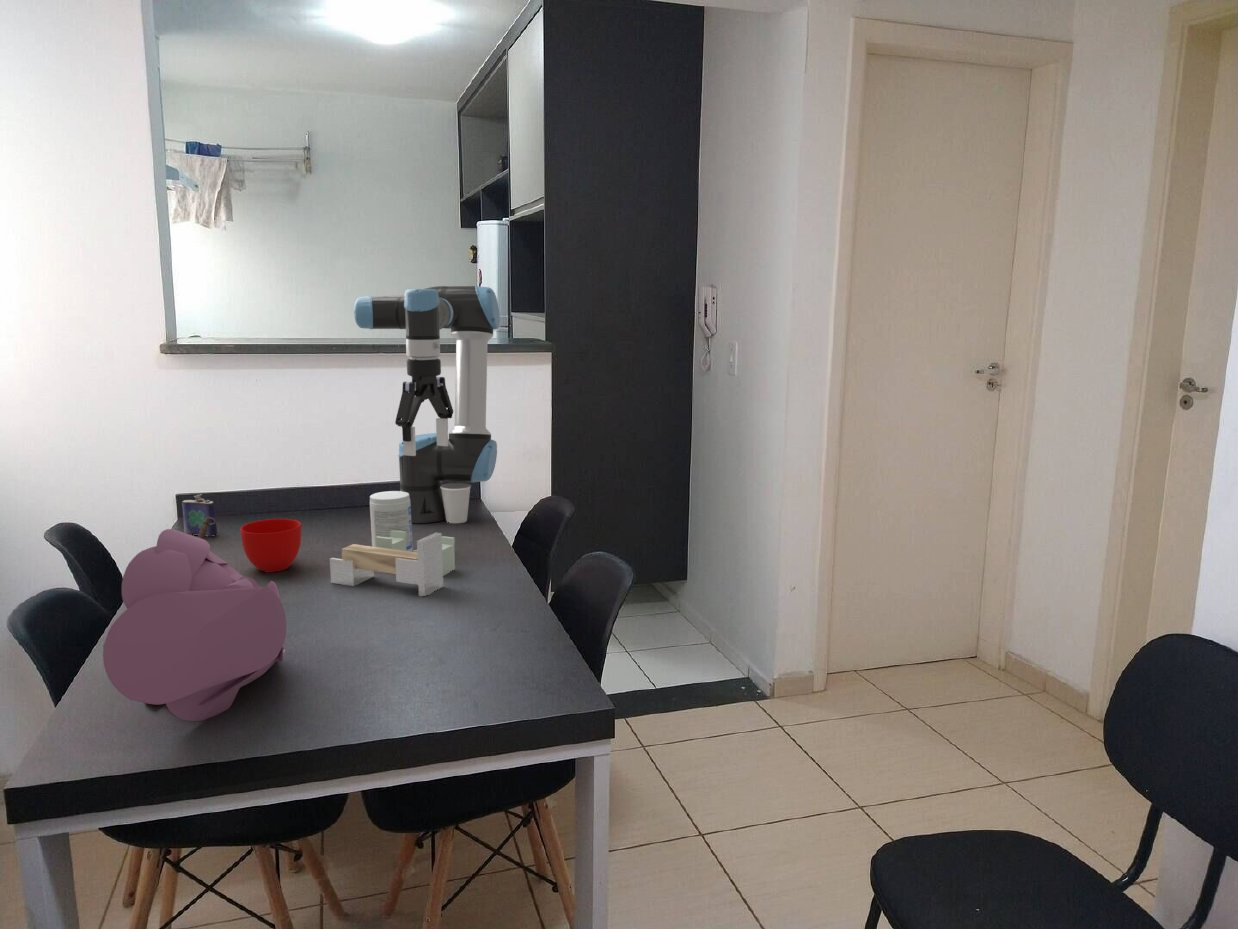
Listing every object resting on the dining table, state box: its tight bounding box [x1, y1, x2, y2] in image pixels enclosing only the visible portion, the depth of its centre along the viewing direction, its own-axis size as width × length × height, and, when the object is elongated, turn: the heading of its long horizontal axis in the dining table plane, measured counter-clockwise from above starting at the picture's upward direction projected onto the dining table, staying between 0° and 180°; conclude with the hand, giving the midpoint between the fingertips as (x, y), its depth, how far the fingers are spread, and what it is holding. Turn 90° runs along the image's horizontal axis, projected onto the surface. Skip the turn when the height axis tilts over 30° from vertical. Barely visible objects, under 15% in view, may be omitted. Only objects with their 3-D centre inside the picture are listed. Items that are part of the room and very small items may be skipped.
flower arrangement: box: [102, 528, 287, 722], centre depth 143 cm, size 35×24×28 cm
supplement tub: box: [369, 490, 414, 552], centre depth 217 cm, size 10×10×15 cm
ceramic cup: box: [240, 518, 302, 573], centre depth 208 cm, size 13×17×10 cm
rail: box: [341, 543, 418, 575], centre depth 195 cm, size 4×19×4 cm, turn 69°
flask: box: [181, 493, 218, 537], centre depth 233 cm, size 9×3×11 cm, turn 76°
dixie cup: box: [440, 482, 472, 524], centre depth 249 cm, size 8×8×10 cm
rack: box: [375, 530, 456, 577], centre depth 207 cm, size 7×17×8 cm, turn 69°
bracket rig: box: [329, 532, 444, 597], centre depth 195 cm, size 7×24×12 cm, turn 69°
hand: (426, 450), depth 208 cm, fingers open, 13 cm apart
